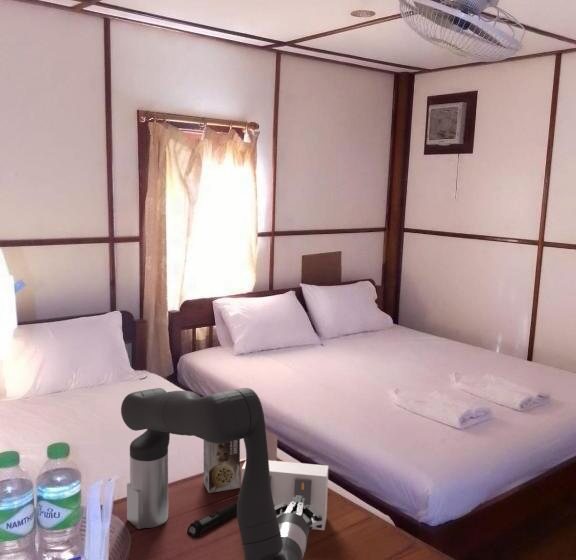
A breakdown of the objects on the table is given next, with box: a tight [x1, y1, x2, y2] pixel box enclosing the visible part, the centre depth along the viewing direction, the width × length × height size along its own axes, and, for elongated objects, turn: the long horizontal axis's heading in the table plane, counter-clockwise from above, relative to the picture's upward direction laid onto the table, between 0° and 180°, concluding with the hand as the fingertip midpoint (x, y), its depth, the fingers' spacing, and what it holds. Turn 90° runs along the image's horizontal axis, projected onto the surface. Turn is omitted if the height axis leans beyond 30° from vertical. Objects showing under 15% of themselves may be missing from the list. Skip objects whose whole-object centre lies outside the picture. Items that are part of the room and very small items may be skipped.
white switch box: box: [240, 460, 329, 531], centre depth 152 cm, size 21×6×14 cm, turn 81°
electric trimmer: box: [186, 501, 237, 538], centre depth 151 cm, size 4×16×3 cm, turn 138°
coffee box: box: [203, 439, 241, 494], centre depth 169 cm, size 9×6×16 cm
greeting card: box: [266, 431, 278, 461], centre depth 172 cm, size 11×7×15 cm, turn 15°
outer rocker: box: [294, 478, 312, 506], centre depth 147 cm, size 4×1×6 cm, turn 81°
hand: (299, 499), depth 140 cm, fingers closed
